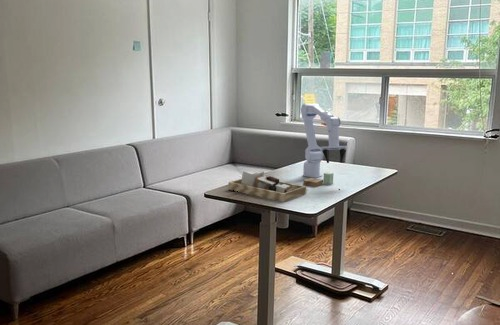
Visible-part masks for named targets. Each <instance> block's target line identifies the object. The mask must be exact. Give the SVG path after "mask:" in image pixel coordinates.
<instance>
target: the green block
mask: <svg viewBox="0 0 500 325" xmlns="http://www.w3.org/2000/svg"><path fill="white" fill-rule="evenodd" d="M322 180H323V185H329V186H330V185H332V184H334V172H330V171H329V172H328V171H327V172H323V178H322Z"/></svg>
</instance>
